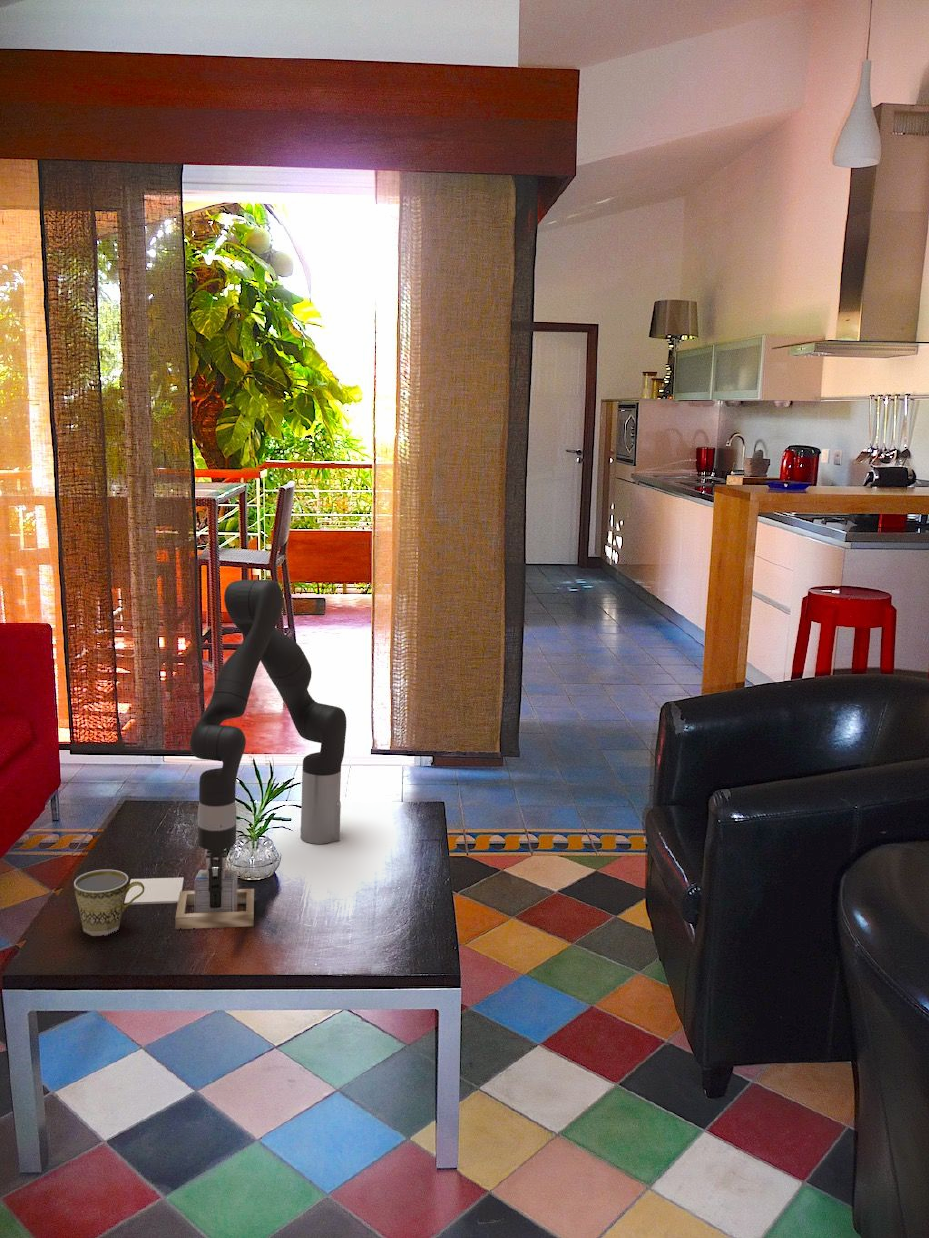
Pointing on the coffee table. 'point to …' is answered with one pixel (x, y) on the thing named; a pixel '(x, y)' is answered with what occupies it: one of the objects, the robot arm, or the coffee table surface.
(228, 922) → the rectangular wooden frame
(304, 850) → the coffee table surface
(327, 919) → the coffee table surface
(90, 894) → the ceramic cup
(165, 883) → the pad
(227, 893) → the medicine box
